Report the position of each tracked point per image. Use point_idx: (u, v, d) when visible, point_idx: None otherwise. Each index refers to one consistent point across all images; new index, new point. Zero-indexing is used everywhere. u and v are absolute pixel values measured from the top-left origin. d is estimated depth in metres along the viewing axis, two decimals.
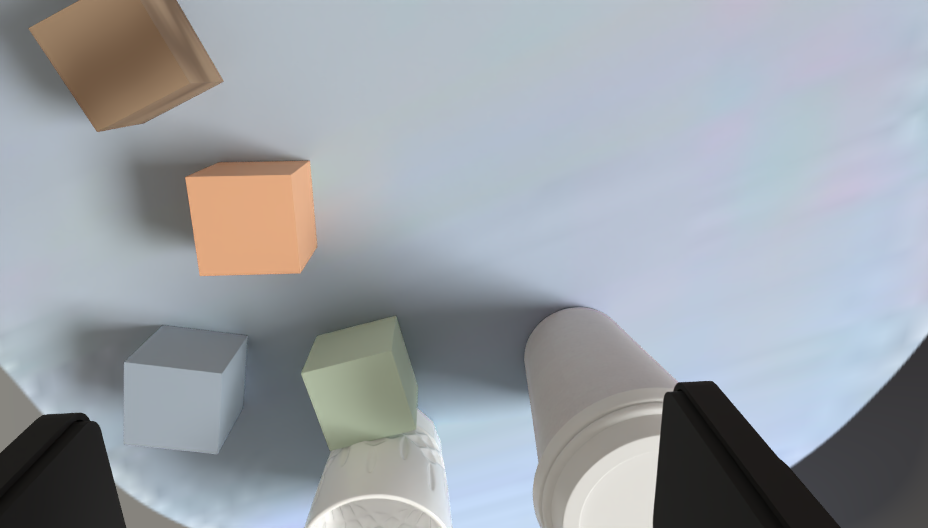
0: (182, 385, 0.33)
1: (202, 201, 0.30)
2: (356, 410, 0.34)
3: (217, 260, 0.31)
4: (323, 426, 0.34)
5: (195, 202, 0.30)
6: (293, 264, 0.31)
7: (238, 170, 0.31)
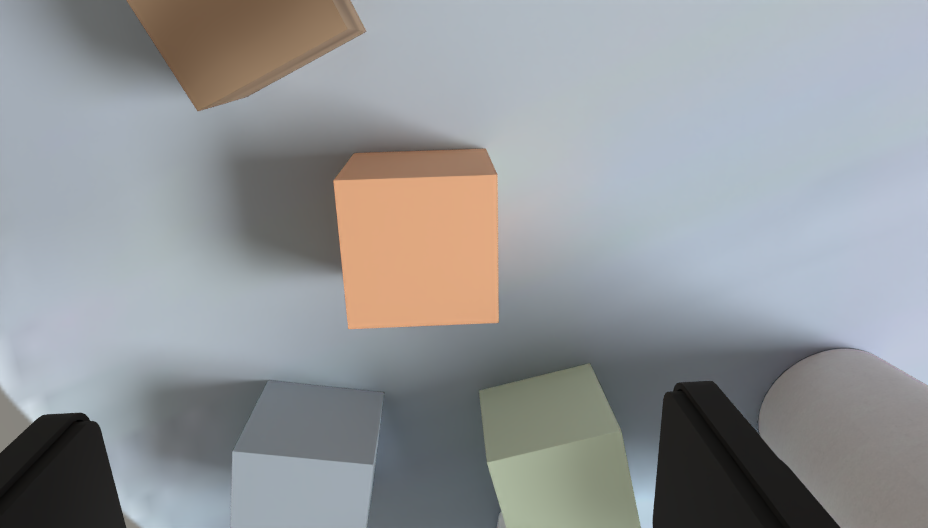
0: (316, 481, 0.22)
1: (358, 217, 0.19)
2: (560, 511, 0.23)
3: (375, 305, 0.20)
4: None
5: (347, 219, 0.19)
6: (489, 310, 0.20)
7: (402, 167, 0.20)
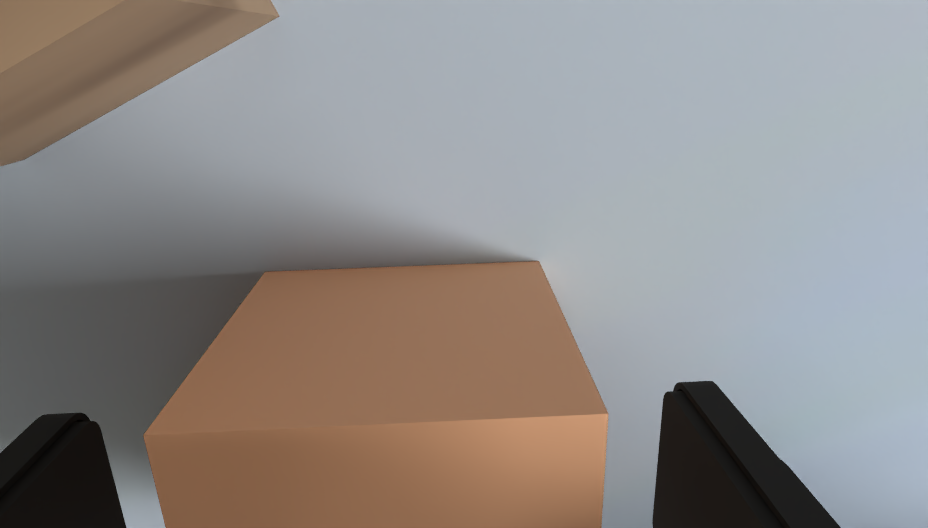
0: None
1: (222, 521, 0.07)
2: None
3: None
4: None
5: (193, 526, 0.07)
6: None
7: (353, 350, 0.08)
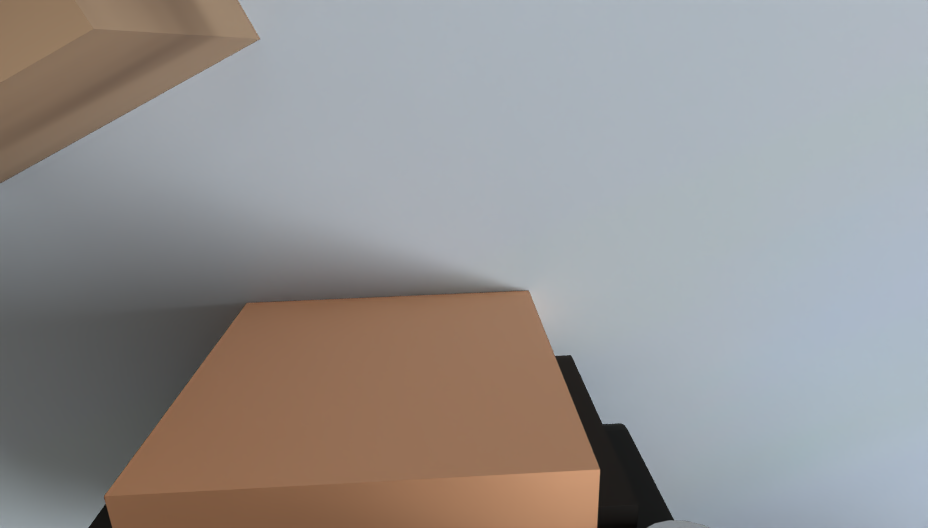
0: None
1: None
2: None
3: None
4: None
5: None
6: None
7: (333, 395, 0.08)
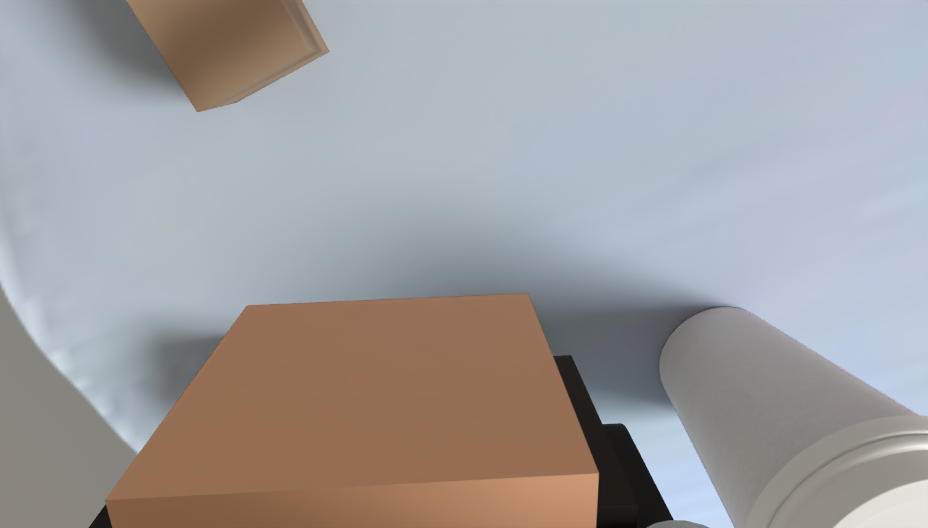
0: None
1: None
2: None
3: None
4: None
5: None
6: None
7: (333, 398, 0.08)
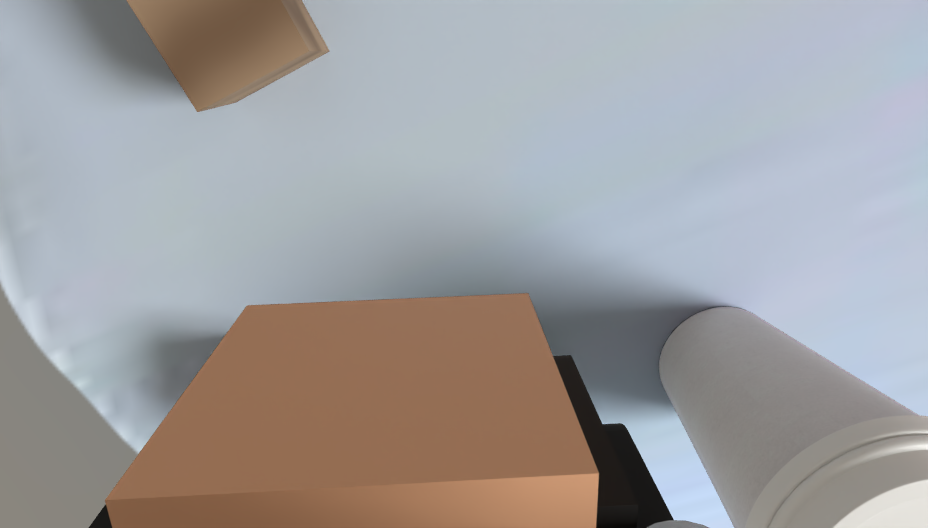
0: None
1: None
2: None
3: None
4: None
5: None
6: None
7: (333, 398, 0.08)
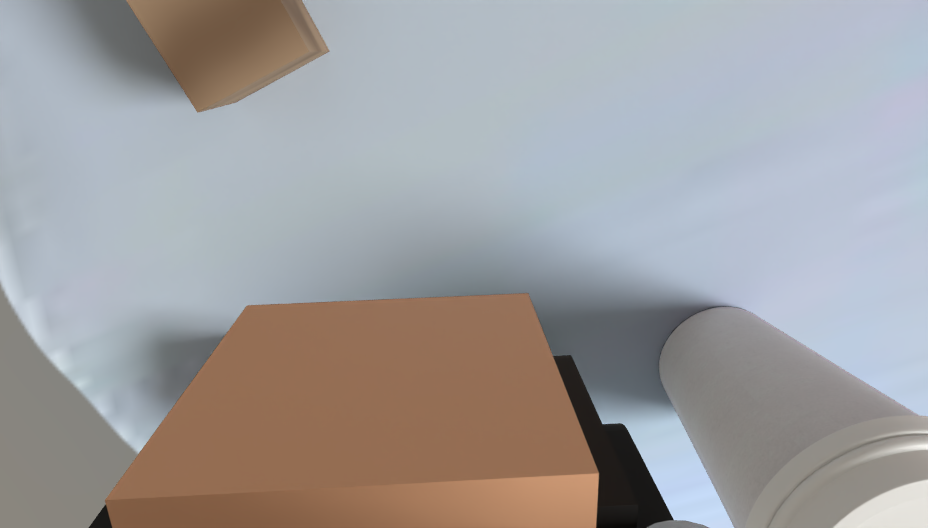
0: None
1: None
2: None
3: None
4: None
5: None
6: None
7: (333, 398, 0.08)
